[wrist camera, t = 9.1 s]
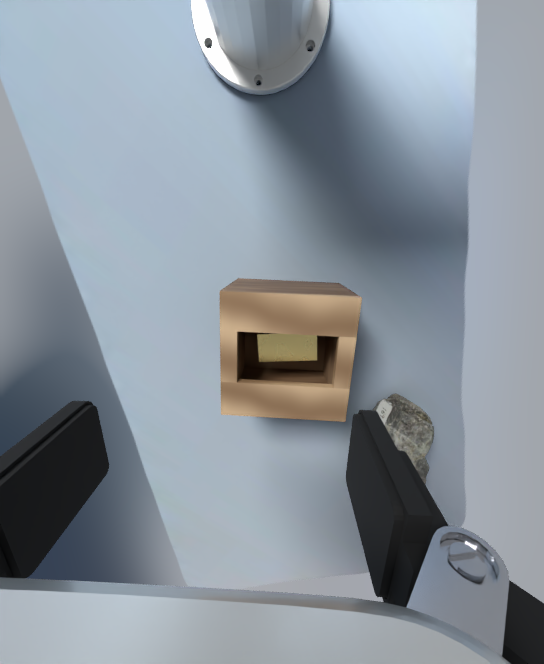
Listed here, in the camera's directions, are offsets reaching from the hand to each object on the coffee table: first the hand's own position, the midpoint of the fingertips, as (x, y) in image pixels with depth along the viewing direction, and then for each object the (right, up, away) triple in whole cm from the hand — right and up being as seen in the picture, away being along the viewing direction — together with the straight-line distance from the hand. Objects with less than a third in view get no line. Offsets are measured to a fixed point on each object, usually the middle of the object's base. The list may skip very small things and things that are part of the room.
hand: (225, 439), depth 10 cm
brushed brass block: (+4, +4, +24) cm, 25 cm away
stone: (+17, -10, +29) cm, 35 cm away
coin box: (+3, +4, +25) cm, 26 cm away
